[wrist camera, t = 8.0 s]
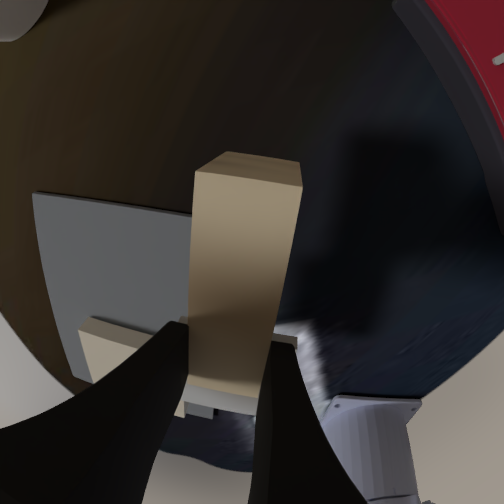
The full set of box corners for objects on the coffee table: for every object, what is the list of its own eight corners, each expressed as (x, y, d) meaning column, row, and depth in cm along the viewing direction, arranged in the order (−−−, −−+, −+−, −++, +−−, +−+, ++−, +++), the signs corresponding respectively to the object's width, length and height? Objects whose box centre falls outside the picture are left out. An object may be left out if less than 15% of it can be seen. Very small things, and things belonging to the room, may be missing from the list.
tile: (190, 342, 21) (189, 401, 24) (89, 315, 21) (104, 375, 24) (183, 360, 19) (184, 417, 22) (77, 329, 19) (95, 389, 23)
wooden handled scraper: (276, 406, 15) (270, 464, 12) (182, 388, 15) (162, 442, 12) (338, 169, 10) (359, 198, 7) (189, 147, 10) (143, 165, 7)
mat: (213, 415, 25) (212, 419, 25) (75, 373, 26) (73, 375, 25) (235, 222, 17) (233, 224, 17) (35, 191, 18) (32, 193, 17)
